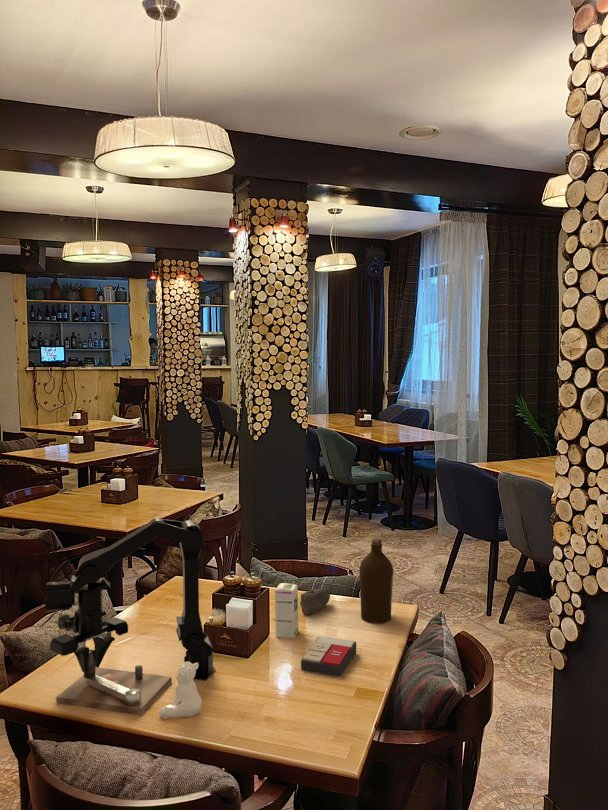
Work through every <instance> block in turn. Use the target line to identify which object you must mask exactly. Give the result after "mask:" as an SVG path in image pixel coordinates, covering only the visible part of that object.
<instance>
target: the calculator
mask: <svg viewBox="0 0 608 810" xmlns="http://www.w3.org/2000/svg"><path fill="white" fill-rule="evenodd" d="M311 645H312V646H311V647H310V648H309V649H308V651H307V652H306V653H305V654H304V655H303V657H302V659H301V660H300V670H301V671H304V672H311V673H314V674H321V675H327V676H332V677H339V678H341V677H342V676H343V674H344V673H345V671H346V670H347V668H348V666H349V665H350V663H351V662H352V660H353V659H354V658H355V656H356V655H357V642H356V641H354V640H350V639H343V638H337V637H330V636H323V635H320V636H318V637H317V639H316V640H315V641H314V643H312V644H311Z"/></svg>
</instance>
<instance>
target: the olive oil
mask: <svg viewBox="0 0 608 810" xmlns="http://www.w3.org/2000/svg"><path fill="white" fill-rule="evenodd" d="M370 549H371V550H370V552H369V553H368V554H367V555H366V556H365V557H364V558H363V559H362V561H361V562H360V566H359V569H358V571H359V588H360V589H359V591H360V592H359V593H360V596H359V597H360V618H361V619H362V620H363V621H365V622H367V623H370V624H384V623H387V622H389V621H391V619H392V603H393V601H392V600H393V586H394V567H393V564H392V562H391V560H390V559H389V558H388V557H387V555H385V553H383V544H382V539H380V538H372V539H371V543H370Z"/></svg>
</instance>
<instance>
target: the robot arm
mask: <svg viewBox="0 0 608 810" xmlns="http://www.w3.org/2000/svg"><path fill="white" fill-rule="evenodd" d="M202 530H203V529H201V527H200V526H199V523H197V522H196V521H194V520H190V519H189V520H184V521H179V520H174V519H163V518H161V517H154V518H152V519H151V520H150V521H149V522H147V523H145V524H144V525H142V526H141V527H139V528H137V529H136V530H134V531H133V532H132V531H131V532H130V534H128V535H126V536H125V537H123V538H121V539H120V540H118V541H116V542H115V543H113V544H111V545H110V546H107V547H104V548H100V549H96V550H94V551H92V552H89V553H86V554H85V555H83V556H82V557H81V558H80V559H79V562H78V564H77V569H76V571H75V572H74V573H73V574H72V575H71V577H70V581H69V580H68V581H59V582H57V581H47V583H46V591H45V593H46V594H45V599H44V606H45V607H44V608H45V609H44V611H45V612H47V613H48V612H57V611H70V610H71V608H73V606H75V605H76V593H77V610H75V611H74V615H71V616H69V614H64V615H60V616H58V617H57V625H58V629H59V630H61V631H62V630H65V632H69V631H72V633H74V634H76V635H74V636H71V635H69V634H67V633H64V634H61V635H58V636H56V637H53V638H52V639H51V640H50V643H49V651H51V652H54V653H56V654H57V655H60V656H63V657H64V656H68V655H71V654H74V656H75V657H76V659H77V662H78V664H79V666H80V670H81V672H82V673H83V674H84V673H85V672H86V671H87V665H88V656H89V650H90V648H89V647H88V646H86V642H87V641H90V640H92V641H93V644H94V650H95V664H96V667H97V668H100V666H101V665H102V664H101V663H102V662H103V659H104V657H105V655H106V654H107V652H108V650H109V648H110V647H111V644H112V643H113V642H115V640H116V638H115V637H114V636H112V632H115V633H114V634H116V635H117V636H123V635H125V634H128V633H129V624H128V622H127V621H126V620H123V619H121V618H118V617H115V616H114V617H111V618H109V619H105V620H104V619H103V617H104V616H107V615H106V614H107V611H106V610H104V609H103V606H104V605H103V602H104V601H103V599H104V598H103V597H104V596H103V590H104V591H105V590H110V589H111V583H110V581H108V580H106V578H105V577H104V576H105V575H106V574H107V573H108V572H109V571H110V570H112V568H113V567H114V566H115V565H116V564H117V563H118V562H120V561H121V560H123V559H125V558H126V557H128V556H130V555H131V554H133V553H134V552H136V551H138V550H140V548H143V547H145V546H146V545H147V544H149V543H150V542H152V541H154V540H156V539H157V538H162V539H165V540H169V541H172V542H175V543H179V547H180V551H181V556H182V591H183V592H182V595H183V596H182V599H183V601H182V603H183V604H182V606H183V608H182V609H183V610H182V612H181V613H182V614H181V616H180V615H179V616H178V615H177V616H176V618H175V619H176V624H177V625H176V626H177V627H176V629H175V632H176V634H177V639H178V641H181V645H182V647H183V648H184V649H185V650H186V651H185V656H184V657H183V663H184V662H186V661H188V662H191V663H192V664H194V663H198V665H199V666H198V669H196V674H195V677H194V678H193V680H199V681H207V680H208V679H210V677H211V676H212V675H213V674H214V672H215V671H216V667H214V647H213V645H212V642H211V640H210V638H209V634H207V633H206V632H204V629H203V624H202V620H201V616H200V610H199V609H200V601H199V600H200V595H199V594H200V593H199V592H200V590H199V589H200V588H199V587H200V586H199V585H200V582H199V577H200V576H199V573H200V572H199V558H200V555H201V552H202V547H203V542H204V541H203V540H204V532H203V531H202Z"/></svg>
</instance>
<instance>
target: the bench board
mask: <svg viewBox="0 0 608 810" xmlns="http://www.w3.org/2000/svg"><path fill="white" fill-rule="evenodd" d="M143 667H144V666H143V665H141V664H139V665H136V666H134V671H128V670H120V669H111V668H107V667H106V668H104V667H98V668H97V667H96V675H98V676H100V677H102V678H105V679H107V680H109V681H112V682H114V683H116V684H119V685H121V686H124V687H126V688H128V689H140V690H141V702H139V703H138V704H134V705H129V704H126V702H125V701H124V700H122V699H119V698H117V697H115V696H113V695H110V694H108V693H106V692H104V691H101V690H99V689H97V688H95V687H92V686H90V685H88V684H86V678H84V674H83V675H82V676H80V677H79V678H78V679H77V680H75V681H74V682H73V683H72V684H71V685H69V686H68V687H67V688H66V689H64V690H63V691H62V692H61V693H59V694H58V695H57V696H55V697H56V698H55V699H56V704H61V705H67V706H74V707H81V708H88V707H89V708H90V709H95V710H101V711H102V710H103V711H108V712H109V711H110V712H117V713H124V714H130V715H137V716H142V715H143V714H144V713H145V712H146V711H147V710H148V709H149V707H151V706H152V705H153V703H154V702H155V701H156V700H157V699H158V698H159V697H160V696H161V694H163V693H164V692H165V690H167V688H168V687H169V686H170V685H171V684H172V683H171V682H173V681H172V680H173V678H172V676H169V675H167V676H166V675H160V674H152V673H146V672H145V673H144V672H143ZM170 683H171V684H170Z"/></svg>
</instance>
